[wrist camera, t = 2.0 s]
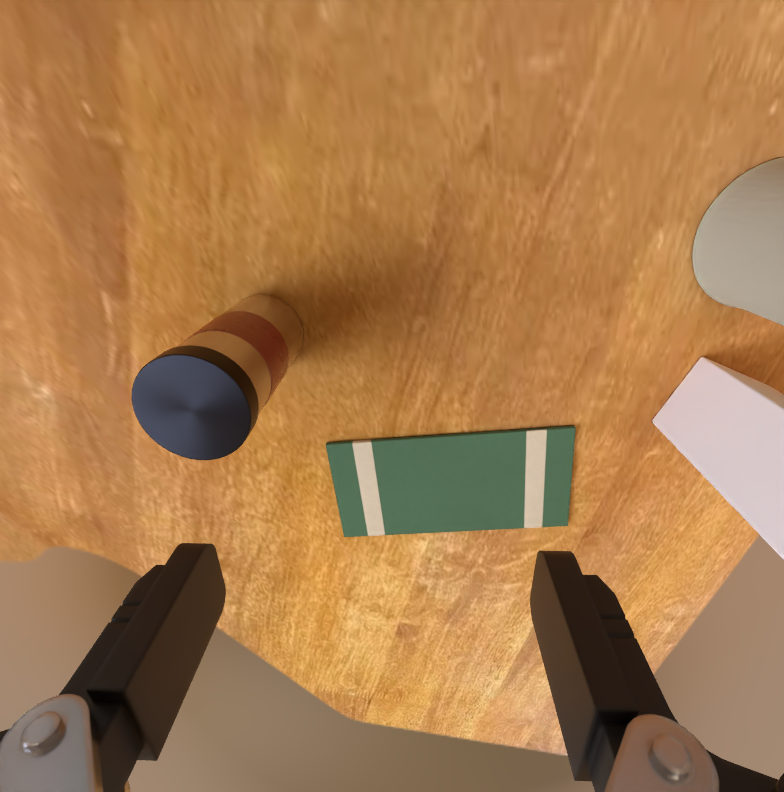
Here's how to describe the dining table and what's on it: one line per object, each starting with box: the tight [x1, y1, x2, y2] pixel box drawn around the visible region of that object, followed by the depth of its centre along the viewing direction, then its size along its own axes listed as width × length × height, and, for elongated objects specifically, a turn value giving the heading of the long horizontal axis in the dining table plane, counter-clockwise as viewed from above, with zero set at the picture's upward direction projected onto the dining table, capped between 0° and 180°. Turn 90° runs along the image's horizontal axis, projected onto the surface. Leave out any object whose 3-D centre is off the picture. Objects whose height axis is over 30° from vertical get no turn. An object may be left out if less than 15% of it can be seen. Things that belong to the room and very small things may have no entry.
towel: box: [326, 425, 576, 537], centre depth 39 cm, size 10×20×1 cm, turn 96°
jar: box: [132, 294, 304, 460], centre depth 28 cm, size 6×6×12 cm
